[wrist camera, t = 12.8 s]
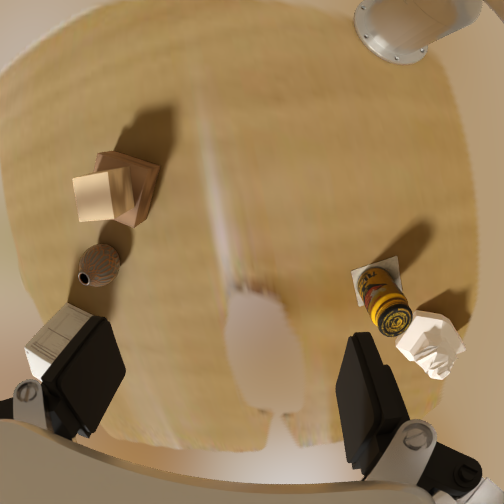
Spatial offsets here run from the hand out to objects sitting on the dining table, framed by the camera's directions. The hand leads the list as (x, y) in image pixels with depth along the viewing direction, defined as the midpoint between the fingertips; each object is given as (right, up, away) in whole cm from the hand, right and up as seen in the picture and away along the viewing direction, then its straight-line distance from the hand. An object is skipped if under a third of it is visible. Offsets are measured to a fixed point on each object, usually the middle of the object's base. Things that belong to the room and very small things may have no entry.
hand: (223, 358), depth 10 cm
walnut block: (-19, +15, +32) cm, 40 cm away
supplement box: (-37, -12, +44) cm, 59 cm away
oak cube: (-19, +13, +27) cm, 35 cm away
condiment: (+22, -1, +35) cm, 42 cm away
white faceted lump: (+36, -12, +39) cm, 54 cm away
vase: (-25, +3, +37) cm, 44 cm away
